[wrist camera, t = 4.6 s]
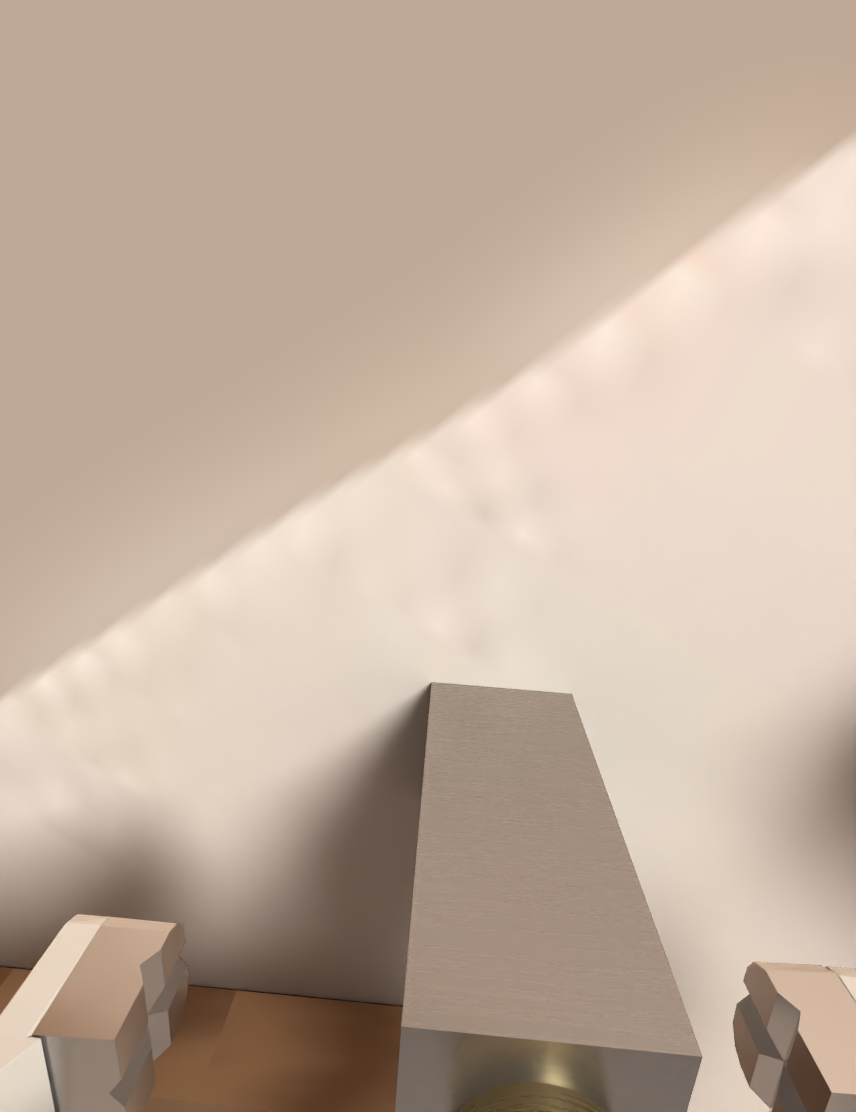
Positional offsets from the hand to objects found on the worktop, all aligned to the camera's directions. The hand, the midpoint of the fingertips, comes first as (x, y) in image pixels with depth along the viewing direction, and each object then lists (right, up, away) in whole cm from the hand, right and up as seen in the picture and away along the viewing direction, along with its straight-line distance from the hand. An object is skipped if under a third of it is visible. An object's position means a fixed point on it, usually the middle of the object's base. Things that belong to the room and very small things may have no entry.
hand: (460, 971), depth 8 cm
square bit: (+1, +2, +5) cm, 5 cm away
